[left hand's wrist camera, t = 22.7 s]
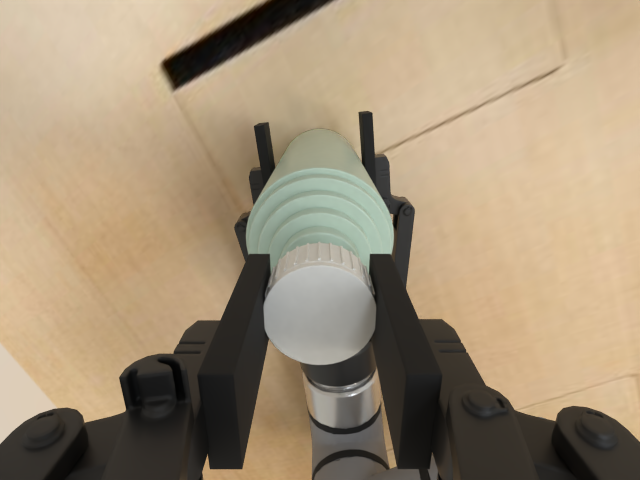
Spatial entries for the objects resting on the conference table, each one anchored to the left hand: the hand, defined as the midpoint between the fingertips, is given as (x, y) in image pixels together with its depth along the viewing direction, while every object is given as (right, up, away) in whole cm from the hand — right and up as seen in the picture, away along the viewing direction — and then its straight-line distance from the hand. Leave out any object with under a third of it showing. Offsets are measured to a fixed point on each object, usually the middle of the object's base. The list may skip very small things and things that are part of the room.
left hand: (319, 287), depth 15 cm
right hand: (0, +11, +15) cm, 19 cm away
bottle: (0, +9, +23) cm, 24 cm away
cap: (0, -1, -2) cm, 2 cm away
